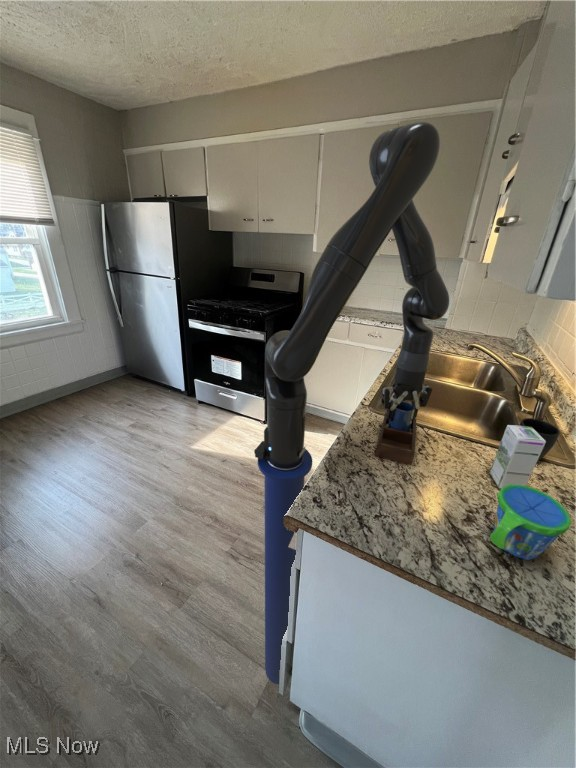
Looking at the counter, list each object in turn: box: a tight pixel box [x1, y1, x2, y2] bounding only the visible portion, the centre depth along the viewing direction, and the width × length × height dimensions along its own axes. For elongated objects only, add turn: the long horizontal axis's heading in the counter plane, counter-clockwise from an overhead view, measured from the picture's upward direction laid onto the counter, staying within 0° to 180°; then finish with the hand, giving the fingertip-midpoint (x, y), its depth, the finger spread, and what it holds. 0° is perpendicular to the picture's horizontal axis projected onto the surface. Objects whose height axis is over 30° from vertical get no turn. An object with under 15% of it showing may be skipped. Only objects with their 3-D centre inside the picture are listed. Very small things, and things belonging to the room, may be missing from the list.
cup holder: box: [375, 412, 417, 466], centre depth 88 cm, size 9×17×4 cm, turn 158°
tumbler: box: [388, 401, 415, 432], centre depth 90 cm, size 6×6×9 cm
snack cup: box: [489, 484, 572, 561], centre depth 58 cm, size 16×10×10 cm
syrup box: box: [489, 424, 546, 490], centre depth 73 cm, size 6×6×14 cm
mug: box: [504, 417, 561, 463], centre depth 84 cm, size 8×12×10 cm
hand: (400, 419), depth 90 cm, fingers closed on tumbler, 6 cm apart
